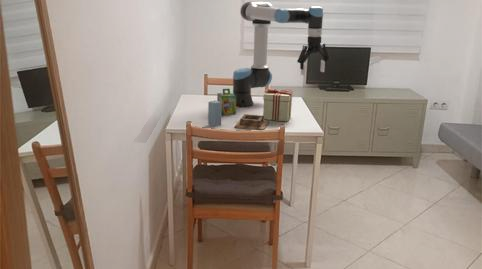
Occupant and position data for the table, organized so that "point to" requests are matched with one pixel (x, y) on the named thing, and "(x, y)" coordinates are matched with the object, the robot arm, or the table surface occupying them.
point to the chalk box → (227, 102)
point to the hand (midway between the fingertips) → (312, 73)
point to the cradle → (252, 122)
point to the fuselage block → (214, 113)
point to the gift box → (277, 104)
